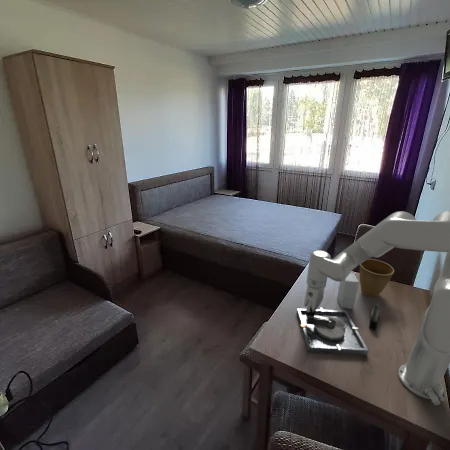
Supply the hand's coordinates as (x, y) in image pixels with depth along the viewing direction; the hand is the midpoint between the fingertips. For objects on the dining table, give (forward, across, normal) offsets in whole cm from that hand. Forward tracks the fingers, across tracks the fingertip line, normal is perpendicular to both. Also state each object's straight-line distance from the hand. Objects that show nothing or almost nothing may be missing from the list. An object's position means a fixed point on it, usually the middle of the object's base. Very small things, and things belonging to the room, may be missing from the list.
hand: (310, 317), depth 113 cm
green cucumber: (+5, +21, -22) cm, 31 cm away
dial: (+3, 0, -7) cm, 7 cm away
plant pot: (+4, +42, -16) cm, 45 cm away
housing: (+4, +1, -8) cm, 9 cm away
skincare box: (+4, +25, -8) cm, 27 cm away
